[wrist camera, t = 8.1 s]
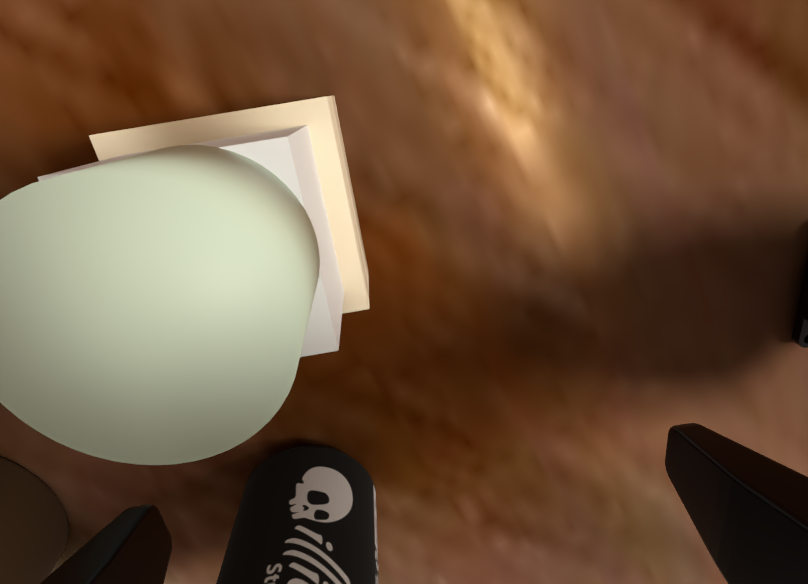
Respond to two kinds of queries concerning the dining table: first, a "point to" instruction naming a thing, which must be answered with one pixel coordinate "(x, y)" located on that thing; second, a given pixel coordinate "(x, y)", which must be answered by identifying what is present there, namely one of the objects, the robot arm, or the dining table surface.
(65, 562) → the robot arm
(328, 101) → the base block
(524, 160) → the dining table surface
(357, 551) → the beverage can
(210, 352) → the pale green rounded cylinder
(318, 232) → the top block
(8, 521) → the brown tall bottle shape
